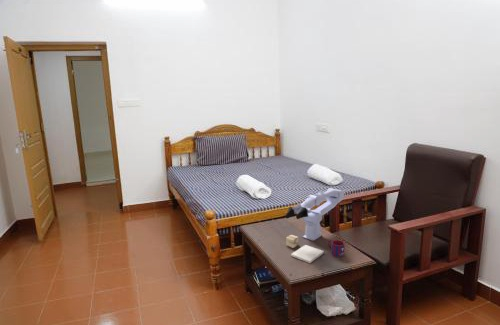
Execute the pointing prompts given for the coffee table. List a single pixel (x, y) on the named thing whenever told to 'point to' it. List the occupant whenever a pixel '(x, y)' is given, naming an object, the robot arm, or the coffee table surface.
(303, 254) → the ceramic tile
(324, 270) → the coffee table surface
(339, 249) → the mug
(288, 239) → the maple cube
